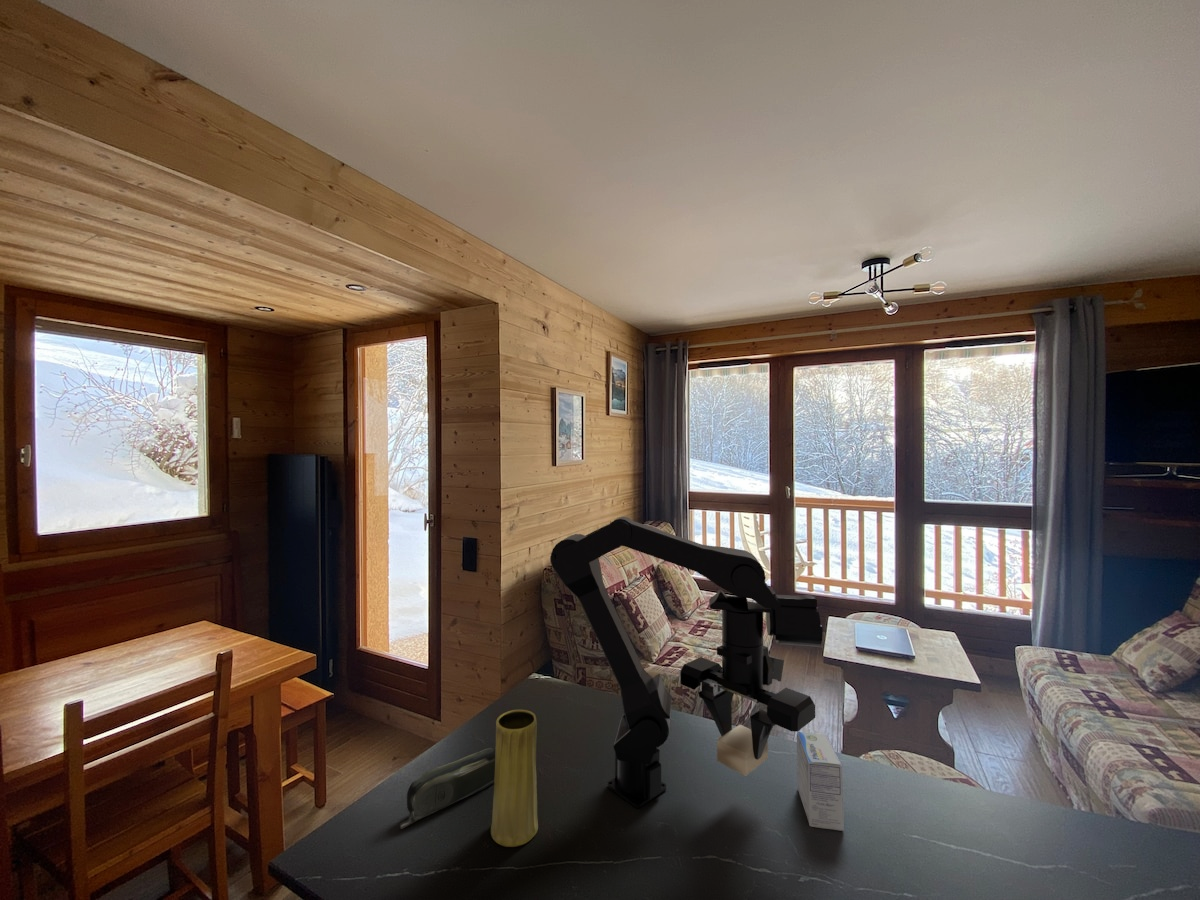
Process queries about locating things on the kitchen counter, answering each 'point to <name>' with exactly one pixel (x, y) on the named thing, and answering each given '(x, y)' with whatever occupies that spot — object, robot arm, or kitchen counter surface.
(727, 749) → the beech block
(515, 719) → the vase
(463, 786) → the stapler
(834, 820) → the medicine box
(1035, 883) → the kitchen counter surface
